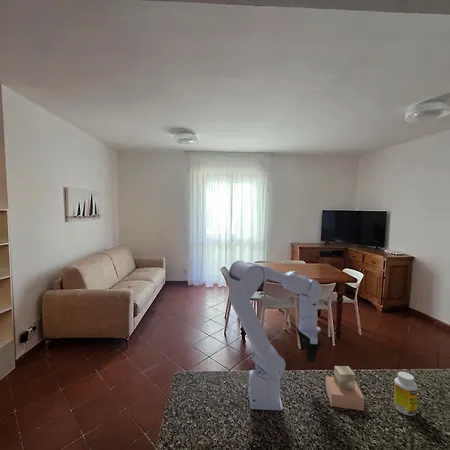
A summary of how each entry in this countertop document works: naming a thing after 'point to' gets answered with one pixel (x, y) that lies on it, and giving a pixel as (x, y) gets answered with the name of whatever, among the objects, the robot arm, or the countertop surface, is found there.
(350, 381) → the metal block
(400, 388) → the supplement bottle
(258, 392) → the robot arm
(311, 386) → the countertop surface
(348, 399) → the terracotta box
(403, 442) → the countertop surface
